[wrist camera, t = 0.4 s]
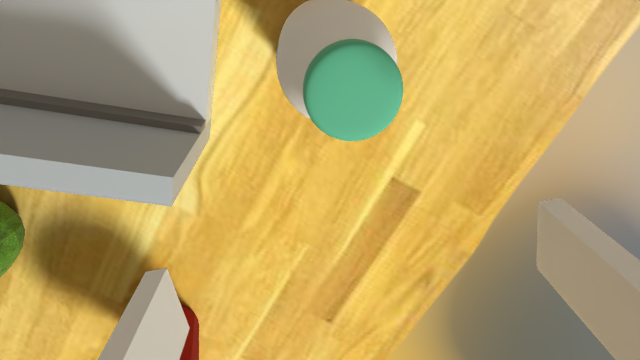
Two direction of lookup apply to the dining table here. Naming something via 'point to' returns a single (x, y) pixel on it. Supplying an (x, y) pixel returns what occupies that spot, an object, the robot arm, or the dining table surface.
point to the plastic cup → (191, 337)
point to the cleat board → (106, 95)
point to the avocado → (9, 237)
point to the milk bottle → (340, 68)
